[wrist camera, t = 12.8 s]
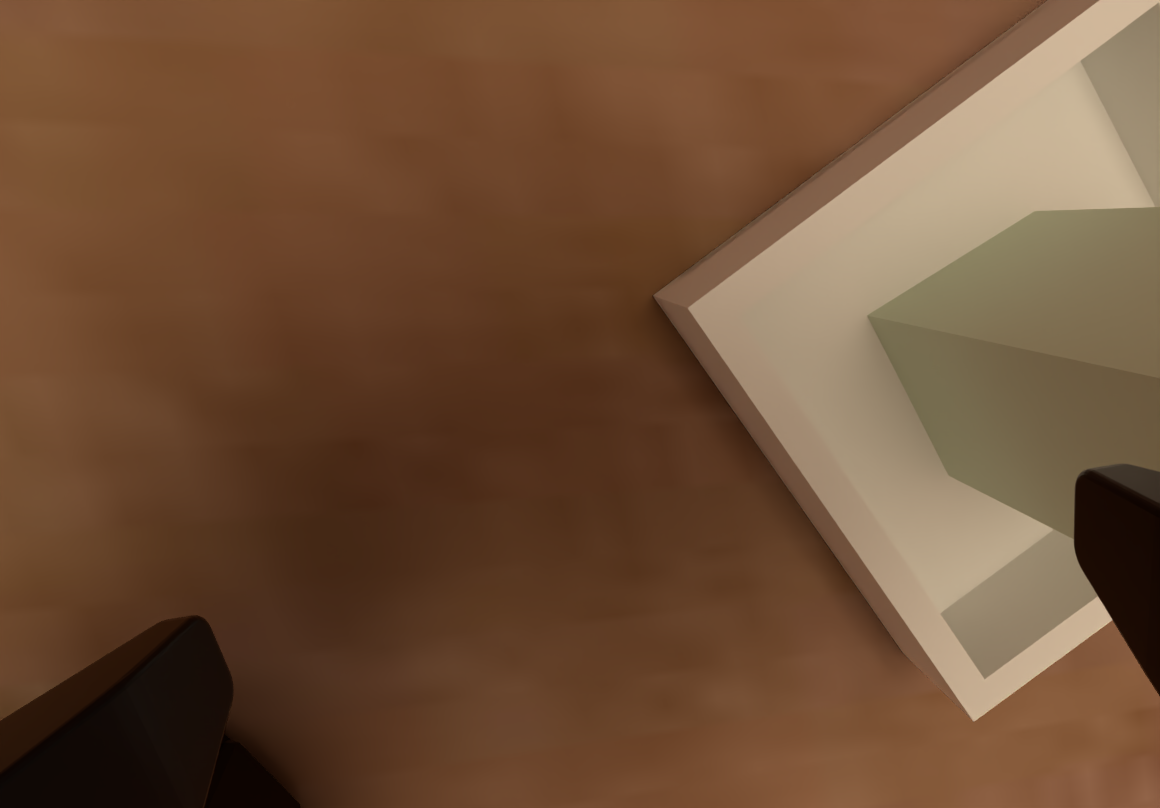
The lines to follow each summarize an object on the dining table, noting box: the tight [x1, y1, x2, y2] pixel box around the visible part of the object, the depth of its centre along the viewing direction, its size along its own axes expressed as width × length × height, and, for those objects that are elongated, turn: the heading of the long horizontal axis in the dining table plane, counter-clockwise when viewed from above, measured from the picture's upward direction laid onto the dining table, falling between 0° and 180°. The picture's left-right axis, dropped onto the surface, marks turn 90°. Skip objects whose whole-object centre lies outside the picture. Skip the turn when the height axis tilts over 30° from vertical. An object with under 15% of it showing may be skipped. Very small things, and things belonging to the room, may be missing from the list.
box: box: [653, 0, 1160, 722], centre depth 21 cm, size 13×13×4 cm
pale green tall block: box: [867, 207, 1160, 539], centre depth 17 cm, size 5×5×11 cm
